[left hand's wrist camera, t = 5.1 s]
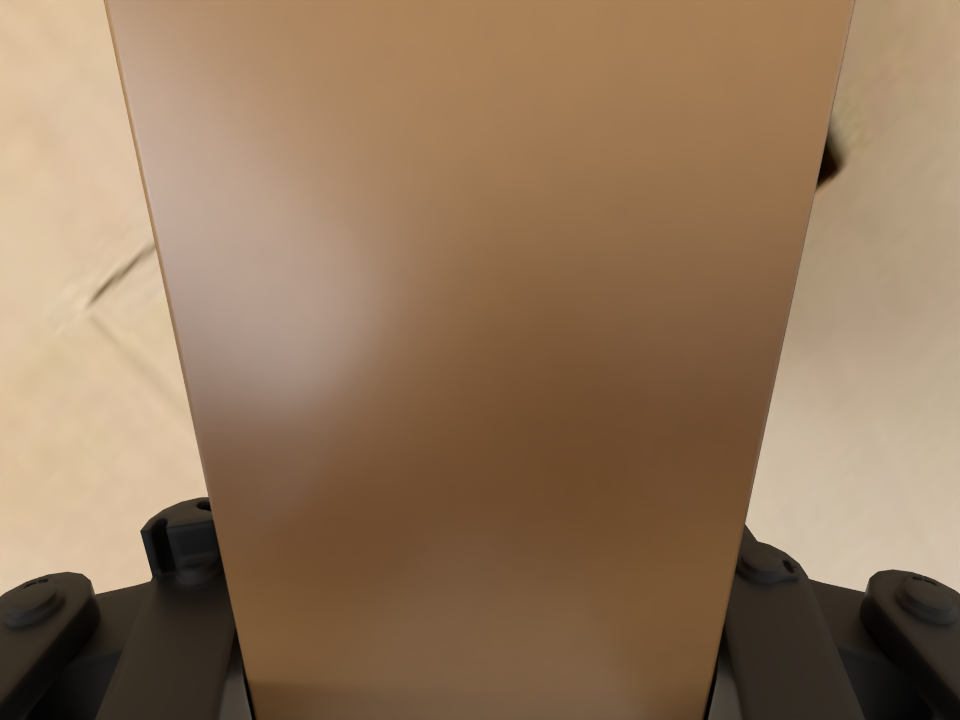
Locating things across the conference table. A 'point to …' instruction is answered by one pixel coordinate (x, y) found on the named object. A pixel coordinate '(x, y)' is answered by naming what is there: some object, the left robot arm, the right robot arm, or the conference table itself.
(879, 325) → the conference table surface
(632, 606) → the bar
